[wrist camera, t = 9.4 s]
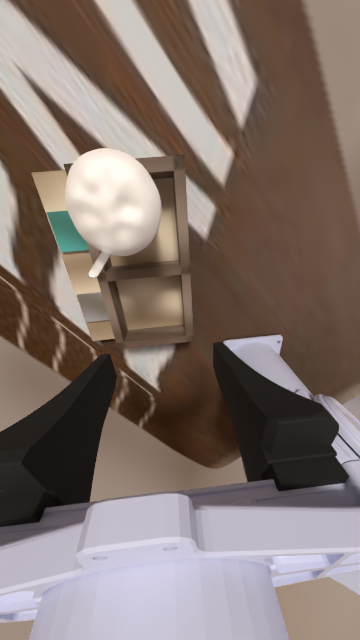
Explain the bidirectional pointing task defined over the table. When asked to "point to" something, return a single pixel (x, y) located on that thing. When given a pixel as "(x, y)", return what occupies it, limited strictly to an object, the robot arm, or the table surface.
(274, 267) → the table surface
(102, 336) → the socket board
